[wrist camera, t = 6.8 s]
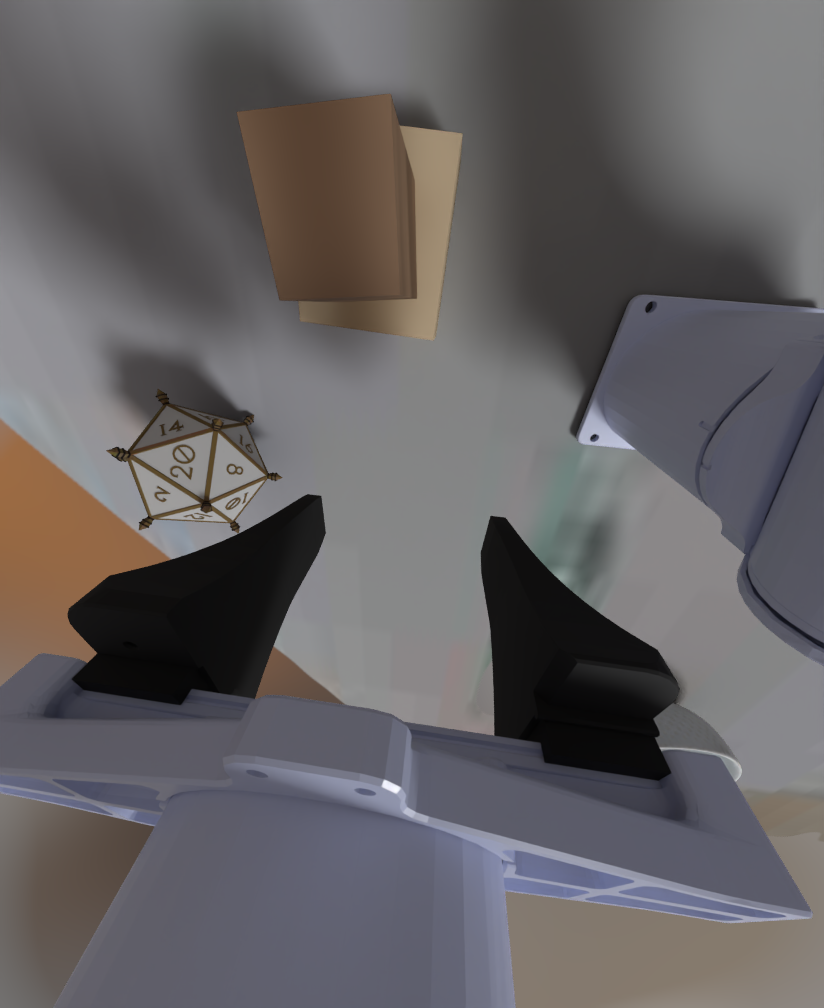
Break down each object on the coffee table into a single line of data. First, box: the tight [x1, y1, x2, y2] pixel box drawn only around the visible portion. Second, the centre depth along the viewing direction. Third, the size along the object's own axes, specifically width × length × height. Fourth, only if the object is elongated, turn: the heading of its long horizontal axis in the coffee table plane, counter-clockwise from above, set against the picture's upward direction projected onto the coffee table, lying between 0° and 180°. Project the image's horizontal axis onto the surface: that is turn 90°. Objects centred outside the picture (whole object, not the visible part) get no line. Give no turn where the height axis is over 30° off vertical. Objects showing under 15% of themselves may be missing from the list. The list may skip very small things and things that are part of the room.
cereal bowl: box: [654, 703, 742, 781], centre depth 35 cm, size 17×17×7 cm
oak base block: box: [298, 126, 463, 340], centre depth 15 cm, size 7×7×3 cm
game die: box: [106, 389, 282, 533], centre depth 20 cm, size 9×8×10 cm
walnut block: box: [237, 94, 417, 302], centre depth 11 cm, size 4×4×6 cm
